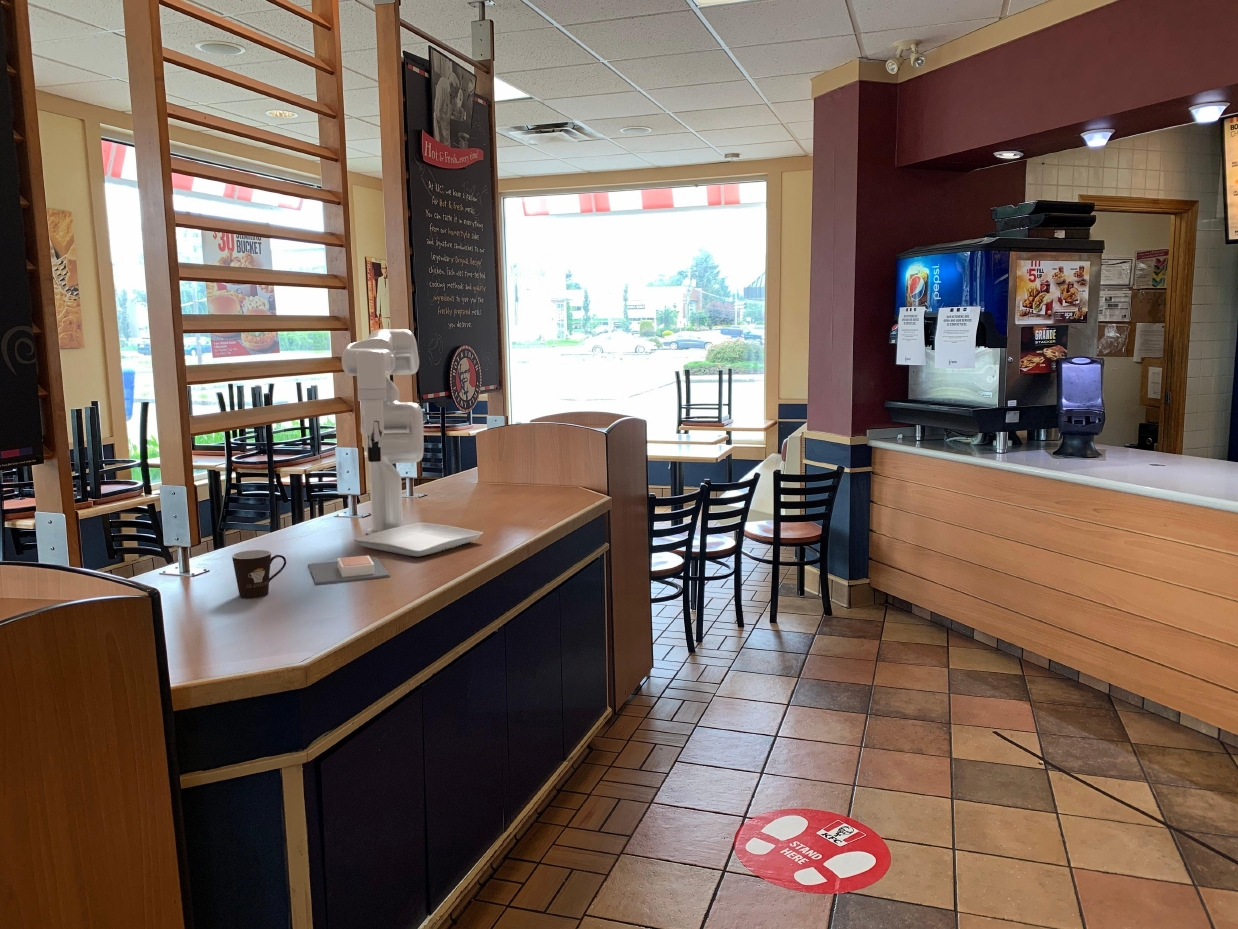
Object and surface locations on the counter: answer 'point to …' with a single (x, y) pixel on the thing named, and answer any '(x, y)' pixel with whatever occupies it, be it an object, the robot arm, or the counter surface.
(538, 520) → the counter surface
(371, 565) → the tile
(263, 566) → the coffee mug
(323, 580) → the mat
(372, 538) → the square plate
